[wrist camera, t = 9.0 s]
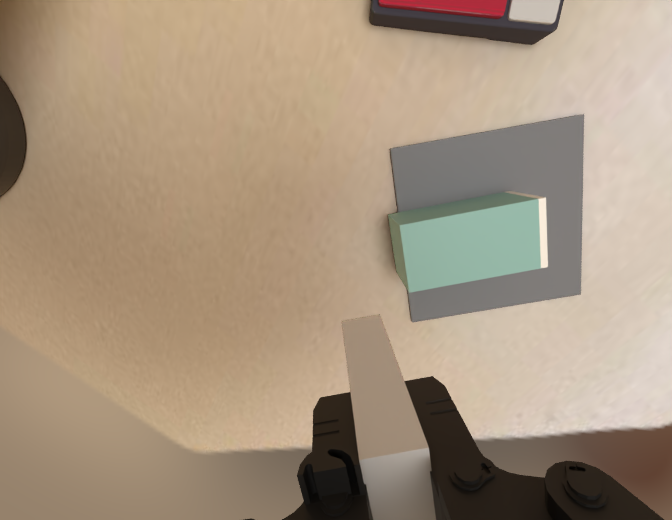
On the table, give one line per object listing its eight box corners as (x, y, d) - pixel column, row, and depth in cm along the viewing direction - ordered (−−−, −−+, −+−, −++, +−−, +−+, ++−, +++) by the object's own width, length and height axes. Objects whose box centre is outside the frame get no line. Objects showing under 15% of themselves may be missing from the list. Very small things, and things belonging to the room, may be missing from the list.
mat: (389, 148, 34) (390, 148, 34) (580, 114, 34) (583, 114, 33) (411, 320, 39) (412, 322, 38) (577, 292, 39) (580, 294, 38)
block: (399, 225, 30) (546, 197, 29) (387, 214, 35) (509, 190, 35) (409, 292, 31) (547, 267, 31) (396, 271, 37) (513, 249, 37)
